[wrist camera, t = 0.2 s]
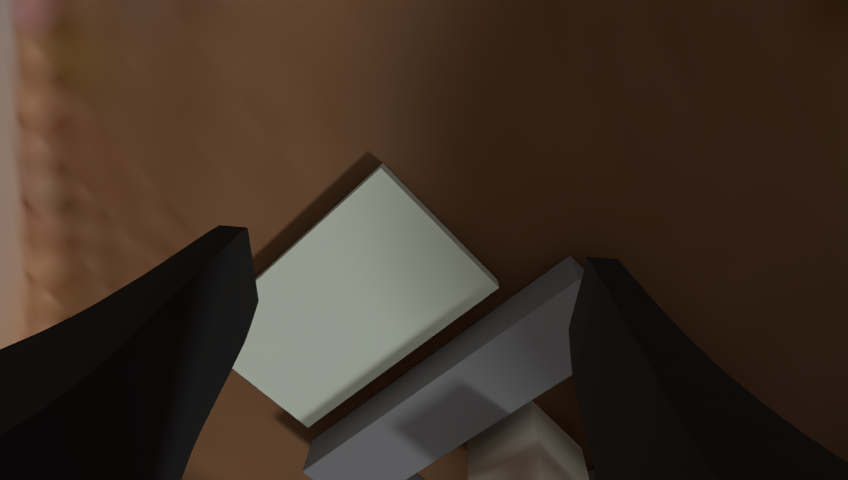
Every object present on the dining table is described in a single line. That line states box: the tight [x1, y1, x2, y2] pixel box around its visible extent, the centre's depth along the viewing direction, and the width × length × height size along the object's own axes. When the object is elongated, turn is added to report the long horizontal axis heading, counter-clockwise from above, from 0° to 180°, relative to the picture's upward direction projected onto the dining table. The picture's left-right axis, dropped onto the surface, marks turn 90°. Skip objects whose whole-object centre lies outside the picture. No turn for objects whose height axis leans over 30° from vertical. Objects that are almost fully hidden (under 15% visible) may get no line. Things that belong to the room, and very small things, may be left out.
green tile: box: [232, 163, 499, 427], centre depth 25 cm, size 12×7×1 cm, turn 133°
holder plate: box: [302, 255, 596, 480], centre depth 27 cm, size 16×14×2 cm
